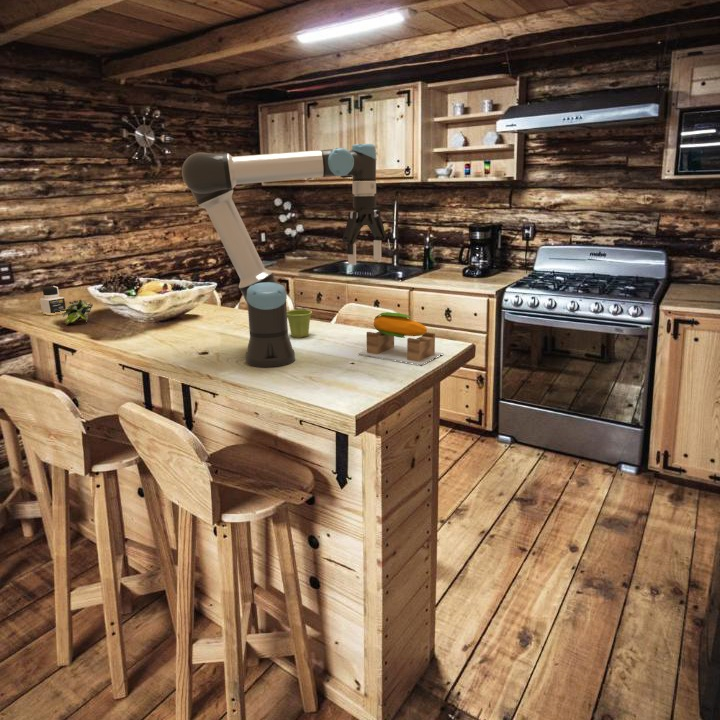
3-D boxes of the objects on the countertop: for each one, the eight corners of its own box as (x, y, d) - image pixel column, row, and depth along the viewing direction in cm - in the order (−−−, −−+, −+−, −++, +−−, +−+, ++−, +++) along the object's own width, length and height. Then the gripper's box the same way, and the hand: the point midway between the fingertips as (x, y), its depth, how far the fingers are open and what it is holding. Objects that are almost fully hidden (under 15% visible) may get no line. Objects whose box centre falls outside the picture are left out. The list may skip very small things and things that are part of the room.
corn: (381, 306, 196) (434, 314, 184) (382, 329, 199) (434, 338, 187) (367, 312, 191) (420, 320, 179) (369, 335, 194) (421, 344, 181)
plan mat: (421, 366, 180) (421, 364, 180) (358, 354, 193) (358, 353, 192) (443, 355, 191) (443, 353, 191) (382, 345, 204) (382, 343, 203)
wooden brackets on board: (418, 363, 182) (418, 340, 180) (366, 354, 193) (366, 332, 191) (434, 355, 190) (435, 333, 188) (383, 347, 201) (383, 326, 199)
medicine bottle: (51, 316, 259) (46, 288, 256) (42, 314, 263) (37, 287, 259) (66, 313, 265) (62, 286, 261) (57, 311, 268) (53, 284, 265)
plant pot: (308, 339, 213) (307, 315, 210) (283, 338, 215) (281, 314, 212) (315, 333, 222) (315, 309, 219) (291, 332, 223) (290, 309, 221)
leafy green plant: (78, 334, 250) (87, 307, 254) (95, 332, 244) (103, 305, 248) (54, 323, 241) (63, 296, 245) (70, 321, 235) (79, 293, 239)
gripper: (348, 196, 181) (350, 267, 187) (396, 194, 200) (396, 259, 206) (329, 196, 186) (331, 265, 192) (378, 194, 205) (378, 257, 211)
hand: (365, 262), depth 199 cm, fingers open, 13 cm apart
